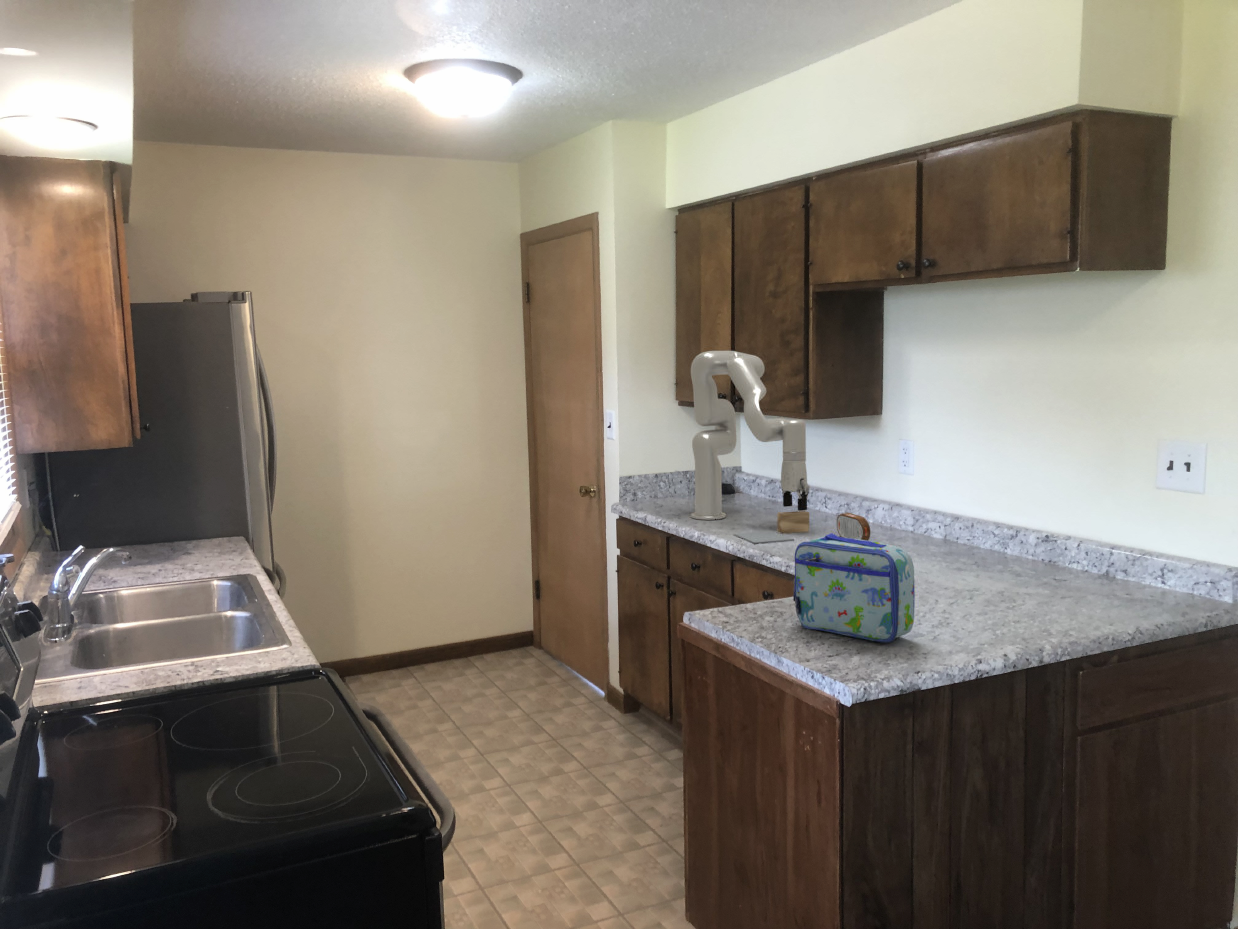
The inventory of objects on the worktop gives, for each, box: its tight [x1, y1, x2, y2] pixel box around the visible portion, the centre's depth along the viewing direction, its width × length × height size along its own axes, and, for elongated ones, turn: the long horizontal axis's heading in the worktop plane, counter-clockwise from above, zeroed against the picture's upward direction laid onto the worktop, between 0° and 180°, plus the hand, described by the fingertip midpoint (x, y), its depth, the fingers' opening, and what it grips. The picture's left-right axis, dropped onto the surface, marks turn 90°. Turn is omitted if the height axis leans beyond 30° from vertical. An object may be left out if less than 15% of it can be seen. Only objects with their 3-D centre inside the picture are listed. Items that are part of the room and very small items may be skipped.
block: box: [776, 510, 810, 535], centre depth 319 cm, size 4×10×6 cm, turn 109°
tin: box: [836, 512, 871, 541], centre depth 304 cm, size 15×3×8 cm, turn 22°
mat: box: [733, 529, 795, 545], centre depth 310 cm, size 15×14×1 cm
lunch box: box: [792, 532, 916, 644], centre depth 207 cm, size 26×11×21 cm, turn 44°
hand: (794, 508), depth 318 cm, fingers open, 9 cm apart
